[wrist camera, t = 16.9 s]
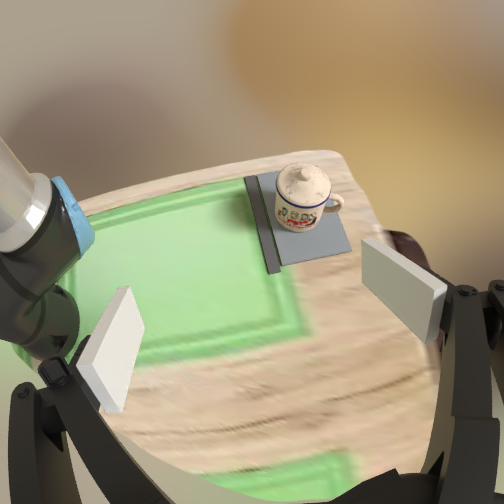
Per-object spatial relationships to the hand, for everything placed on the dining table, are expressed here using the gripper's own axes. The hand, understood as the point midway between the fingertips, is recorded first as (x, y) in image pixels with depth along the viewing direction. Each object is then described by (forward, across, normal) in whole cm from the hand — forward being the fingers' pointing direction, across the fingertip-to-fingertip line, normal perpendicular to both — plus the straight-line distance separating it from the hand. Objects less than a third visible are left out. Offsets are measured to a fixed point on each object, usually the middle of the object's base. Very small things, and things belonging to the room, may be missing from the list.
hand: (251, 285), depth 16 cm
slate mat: (+38, +14, -6) cm, 41 cm away
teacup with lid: (+38, +14, -7) cm, 41 cm away
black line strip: (+38, +6, -7) cm, 39 cm away
